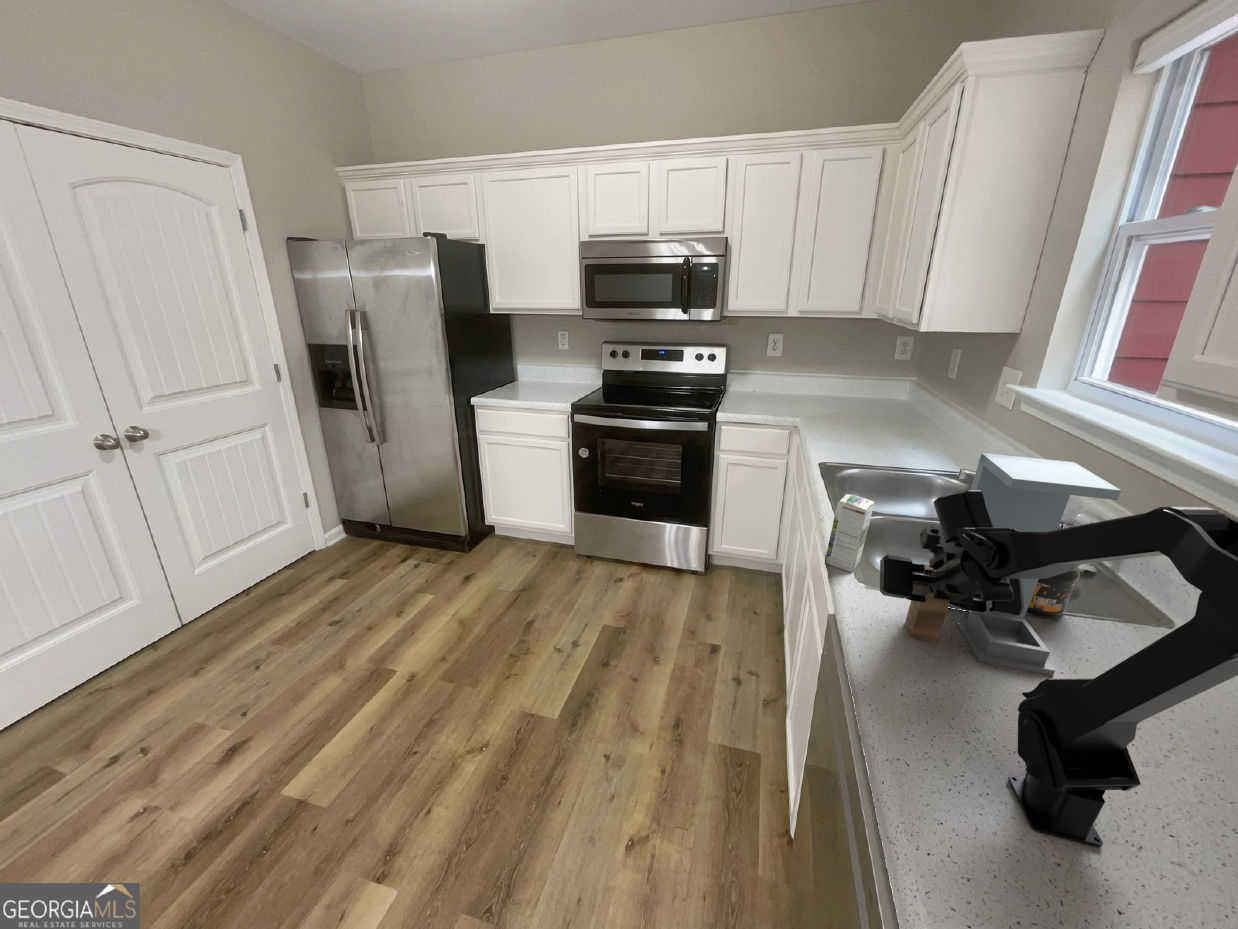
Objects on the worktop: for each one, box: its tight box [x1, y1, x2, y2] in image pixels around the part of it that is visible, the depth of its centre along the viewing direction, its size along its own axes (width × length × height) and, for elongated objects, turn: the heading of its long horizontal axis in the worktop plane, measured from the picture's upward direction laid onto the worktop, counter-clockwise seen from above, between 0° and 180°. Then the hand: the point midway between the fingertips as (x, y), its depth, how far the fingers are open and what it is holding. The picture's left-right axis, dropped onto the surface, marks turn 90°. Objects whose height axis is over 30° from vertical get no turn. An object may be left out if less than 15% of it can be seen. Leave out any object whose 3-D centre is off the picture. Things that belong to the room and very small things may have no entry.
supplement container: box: [1026, 565, 1081, 618], centre depth 92 cm, size 10×10×12 cm
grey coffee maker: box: [949, 452, 1122, 619], centre depth 81 cm, size 12×13×30 cm
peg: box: [904, 563, 950, 644], centre depth 83 cm, size 4×4×12 cm
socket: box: [957, 611, 1056, 677], centre depth 82 cm, size 10×10×4 cm
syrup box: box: [824, 493, 875, 573], centre depth 103 cm, size 6×6×14 cm
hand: (927, 595), depth 84 cm, fingers closed on peg, 4 cm apart
